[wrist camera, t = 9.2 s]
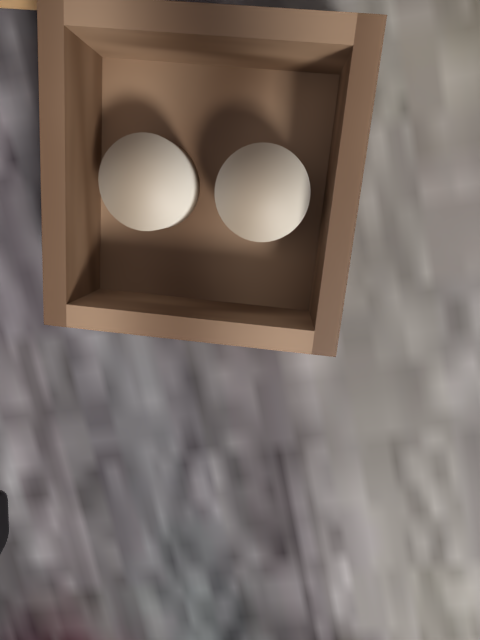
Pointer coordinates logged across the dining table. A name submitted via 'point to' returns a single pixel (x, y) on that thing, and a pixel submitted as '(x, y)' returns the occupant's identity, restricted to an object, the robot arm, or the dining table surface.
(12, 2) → the lid
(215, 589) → the dining table surface
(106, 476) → the dining table surface
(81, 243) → the walnut box
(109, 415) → the dining table surface
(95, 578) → the dining table surface
